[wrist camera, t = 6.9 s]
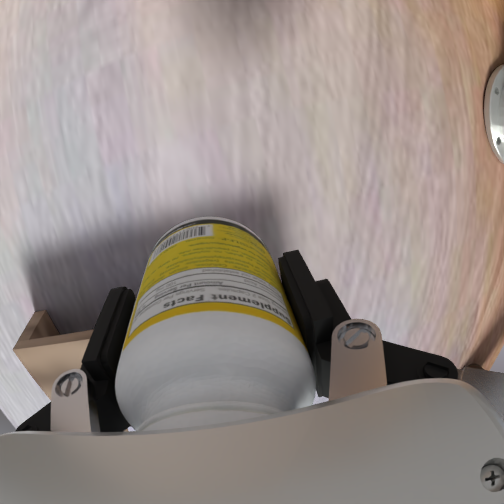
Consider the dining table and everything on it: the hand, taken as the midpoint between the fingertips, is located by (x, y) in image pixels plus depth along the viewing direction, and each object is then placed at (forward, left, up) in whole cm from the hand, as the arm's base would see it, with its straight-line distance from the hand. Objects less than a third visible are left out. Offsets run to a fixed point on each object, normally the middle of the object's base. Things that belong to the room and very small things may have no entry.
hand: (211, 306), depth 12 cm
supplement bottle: (0, 0, -3) cm, 3 cm away
